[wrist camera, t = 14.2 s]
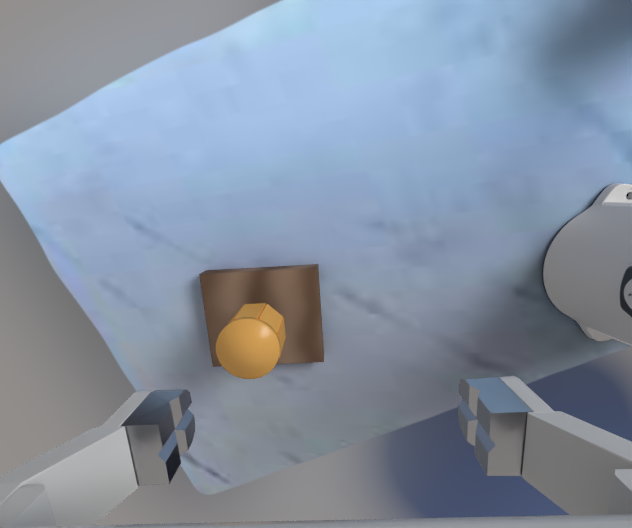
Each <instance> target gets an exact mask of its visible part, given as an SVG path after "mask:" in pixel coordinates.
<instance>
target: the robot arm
mask: <svg viewBox="0 0 632 528" xmlns="http://www.w3.org/2000/svg"><path fill="white" fill-rule="evenodd" d="M627 193H628V197H627V198H626V195H627ZM543 279H544V285H545V289H546V292H547V294H548V296H549V298H550V300H551V301H552V303H553V304H554V305H555V306H556V307H557V308H558V309H559V310H560V311H561V312H562V313H564V314H565V315H567V316H569V317H571V318H572V319H574V320H575V321H576V322H578V324H579V325H580V327H581V329H582V330H583V332H584V333H585V334H586V336H588V337H589V338H591V339H594V340H596V341H606V340H611V339H615V340H618V341H620V342H623V343H625V344H628V345H630V346H632V185H631V184H622V183H613V184H611V185H609V186H608V187H606V188H605V189H604V190H603V191H602V193H601V194H600V195H599V196H598V198H597V199H596V200H595V202H594V203H593V205H592V206H590V207H589V208H588V209H587V210H585V211H584V212H582V213H581V214H579V215H578V216H576V217H575V218H574V219H572V220H571V221H570V222H569V223H567V224H566V225H565V226H564V227H563V228H562V229H561V231H560V232H559V233H558V234H557V236H556V237H555V239H554V240H553V242H552V243H551V245H550V247H549V250H548V252H547V255H546V258H545V262H544V269H543ZM459 393H460V395H461V396H462V398H463V401H462V402H461V403H460V404H459V406H458V418H459V423H460V427H461V430H462V432H463V435H464V437H465V438H466V440H467V442H469V443H470V444H472V445H474V446H475V456H476V457H477V459H478V461H479V463H480V464H481V466H482V468H483V469H484V471H485V472H486V474H487V476H522V478H523V479H524V480H526V481H527V482H528V483H530V484H531V485H532V486H533V487H535V488H536V489H537V490H539V491H540V492H541V493H543V494H544V495H545V496H546V497H548V498H549V499H550V500H552V501H553V502H554V503H555V504H557V505H558V506H559V507H561V508H562V509H563V510H565V511H566V512H567V513H568V514H570V515H563V516H521V517H520V516H517V517H472V518H471V517H470V518H424V519H423V518H422V519H377V520H376V519H375V520H324V521H271V522H231V523H230V522H227V523H226V522H225V523H180V524H134V525H96V524H97V523H98V522H99V521H100V520H101V519H102V518H104V517H105V516H106V515H107V514H108V513H109V512H111V511H112V510H113V509H114V508H115V507H116V506H117V505H119V504H120V503H121V502H122V501H123V500H124V499H125V498H127V497H128V496H129V495H130V494H131V493H132V492H133V491H135V490H136V489H137V488H138V486H142V485H160V484H170V482H171V480H172V478H173V476H174V475H175V473H176V471H177V469H178V467H179V465H180V464H181V460H180V456H181V455H182V454H183V453H185V452H186V451H187V450H188V449H189V447H190V445H191V443H192V441H193V437H194V432H195V419H194V415H193V414H192V413H191V412H190V411H189V410H188V408H189V406H190V404H191V403H192V401H191V396H190V392H189V391H188V390H144V391H137V392H135V393H134V394H133V395H132V396H131V397H130V398H129V399H128V400H127V401H126V402H125V403H124V404H123V405H122V406H121V407H120V408H119V409H118V410H117V411H116V412H115V413H114V414H113V415H112V416H111V417H110V418H109V419H108V420H107V421H106V422H105V423H104V424H103V425H102V426H101V427H95V428H93V429H91V430H89V431H87V432H85V433H83V434H81V435H79V436H77V437H76V438H73V439H71V440H69V441H68V442H66V443H64V444H62V445H60V446H58V447H56V448H54V449H52V450H50V451H48V452H46V453H44V454H42V455H40V456H38V457H36V458H34V459H32V460H30V461H29V462H27V463H25V464H23V465H21V466H19V467H17V468H15V469H13V470H11V471H9V472H7V473H5V474H3V475H1V476H0V528H632V442H630V441H628V440H626V439H624V438H621V437H619V436H617V435H614V434H612V433H609V432H607V431H605V430H602V429H600V428H598V427H596V426H593V425H591V424H588V423H586V422H584V421H582V420H579V419H577V418H575V417H572V416H570V415H568V414H565V413H563V412H561V411H560V412H554V411H553V410H552V409H551V408H550V407H549V406H548V405H547V404H546V403H545V402H543V400H542V399H541V398H539V397H538V396H537V395H536V394H535V393H534V392H533V391H532V390H531V389H529V388H528V386H527V385H525V384H524V383H523V382H522V381H521V380H520V379H519V378H518V377H515V376H505V377H494V378H478V379H461V381H460V384H459Z"/></svg>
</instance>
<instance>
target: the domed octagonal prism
mask: <svg viewBox="0 0 632 528" xmlns="http://www.w3.org/2000/svg"><path fill="white" fill-rule="evenodd" d="M285 338H286V336H285V325H284V318H283V316H282V315H281V314H279V313H278V312H277V311H276V310H274V309H273V308H272V307H271V306H270V305H268V304H266V303H258V304H245V305H243V306H242V308H241V309H240V310H239V311H238V312H237V313H236V314H235V315H234V317H233V318H232V319H231V320H230V321H229V323H228V324H227V325H226V326H225V327H224V329H223V330H222V331H221V333H220V334H219V336H218V338H217V342H216V354H217V357H218V360H219V362H220V363H221V365H222V366H223V367H224V368H225V369H226V370H227V371H228V372H229V373H231V374H232V375H234V376H237V377H239V378H244V379H255V378H259V377H262V376H264V375H266V374H267V373H269V372H270V371H271V370H272V369H273V368H274V367H275V365H276V363H277V361H278V359H279V357H280V355H281V352H282V348H283V345H284V341H285Z"/></svg>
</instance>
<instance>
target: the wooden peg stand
mask: <svg viewBox="0 0 632 528" xmlns="http://www.w3.org/2000/svg"><path fill="white" fill-rule="evenodd" d="M200 281H201V288H202V295H203V302H204V309H205V315H206V322H207V329H208V336H209V343H210V350H211V357H212V363H213V366H222V365H221V363H220V362H219V360H218V357H217V354H216V342H217V338H218V336H219V334H220V333H221V331H222V330H223V329H224V327H225V326H226V325H227V324H228V323H229V321H230V320H231V319H232V318H233V317H234V315H235V314H236V313H237V312H238V311H239V310H240V309H241V308H242V306H243V305H245V304H258V303H266V304H268V305H270V306H271V307H272V308H273V309H274V310H276V311H277V312H278V313H279V314H281V315H282V316H283V318H284V325H285V336H286V338H285V341H284V345H283V348H282V352H281V355H280V357H279V359H278V361H277V363H276V364H284V363H308V362H324V351H323V335H322V319H321V303H320V287H319V272H318V264H315V265H297V266H279V267H261V268H243V269H225V270H207V271H204V272H203V273H201V274H200Z"/></svg>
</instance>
